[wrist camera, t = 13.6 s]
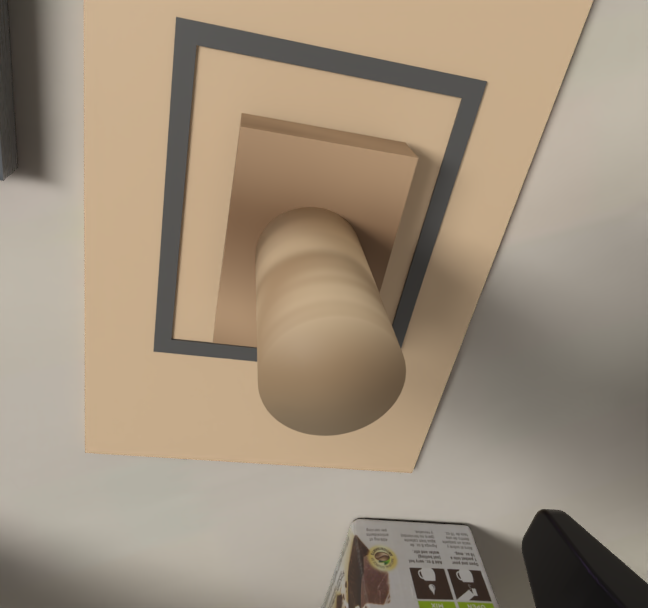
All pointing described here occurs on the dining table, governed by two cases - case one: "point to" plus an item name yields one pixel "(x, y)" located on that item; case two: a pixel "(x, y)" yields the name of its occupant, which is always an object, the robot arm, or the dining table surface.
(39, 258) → the dining table surface
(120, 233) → the stamp board
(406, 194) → the stamp
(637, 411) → the dining table surface
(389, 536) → the coffee box
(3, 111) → the ink pad
